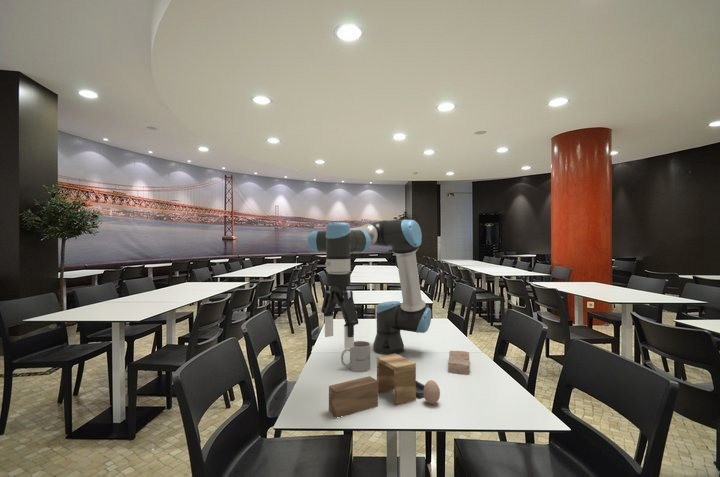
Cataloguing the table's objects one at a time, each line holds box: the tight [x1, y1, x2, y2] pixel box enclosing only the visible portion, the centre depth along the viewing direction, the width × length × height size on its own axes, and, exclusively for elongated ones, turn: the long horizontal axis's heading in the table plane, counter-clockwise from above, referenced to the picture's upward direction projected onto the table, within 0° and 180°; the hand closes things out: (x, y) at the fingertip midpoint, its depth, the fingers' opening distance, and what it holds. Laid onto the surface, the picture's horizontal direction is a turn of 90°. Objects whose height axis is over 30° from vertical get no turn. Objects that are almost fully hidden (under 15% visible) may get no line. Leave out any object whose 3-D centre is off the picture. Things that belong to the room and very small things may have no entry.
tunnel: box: [376, 354, 417, 407], centre depth 113 cm, size 11×8×12 cm
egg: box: [423, 379, 441, 405], centre depth 108 cm, size 5×5×7 cm
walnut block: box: [328, 375, 379, 419], centre depth 105 cm, size 5×15×8 cm, turn 121°
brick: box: [447, 350, 470, 376], centre depth 141 cm, size 17×8×5 cm, turn 162°
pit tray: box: [416, 380, 425, 400], centre depth 118 cm, size 11×6×2 cm, turn 31°
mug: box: [340, 340, 371, 373], centre depth 139 cm, size 12×9×10 cm
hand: (338, 341), depth 102 cm, fingers open, 13 cm apart
